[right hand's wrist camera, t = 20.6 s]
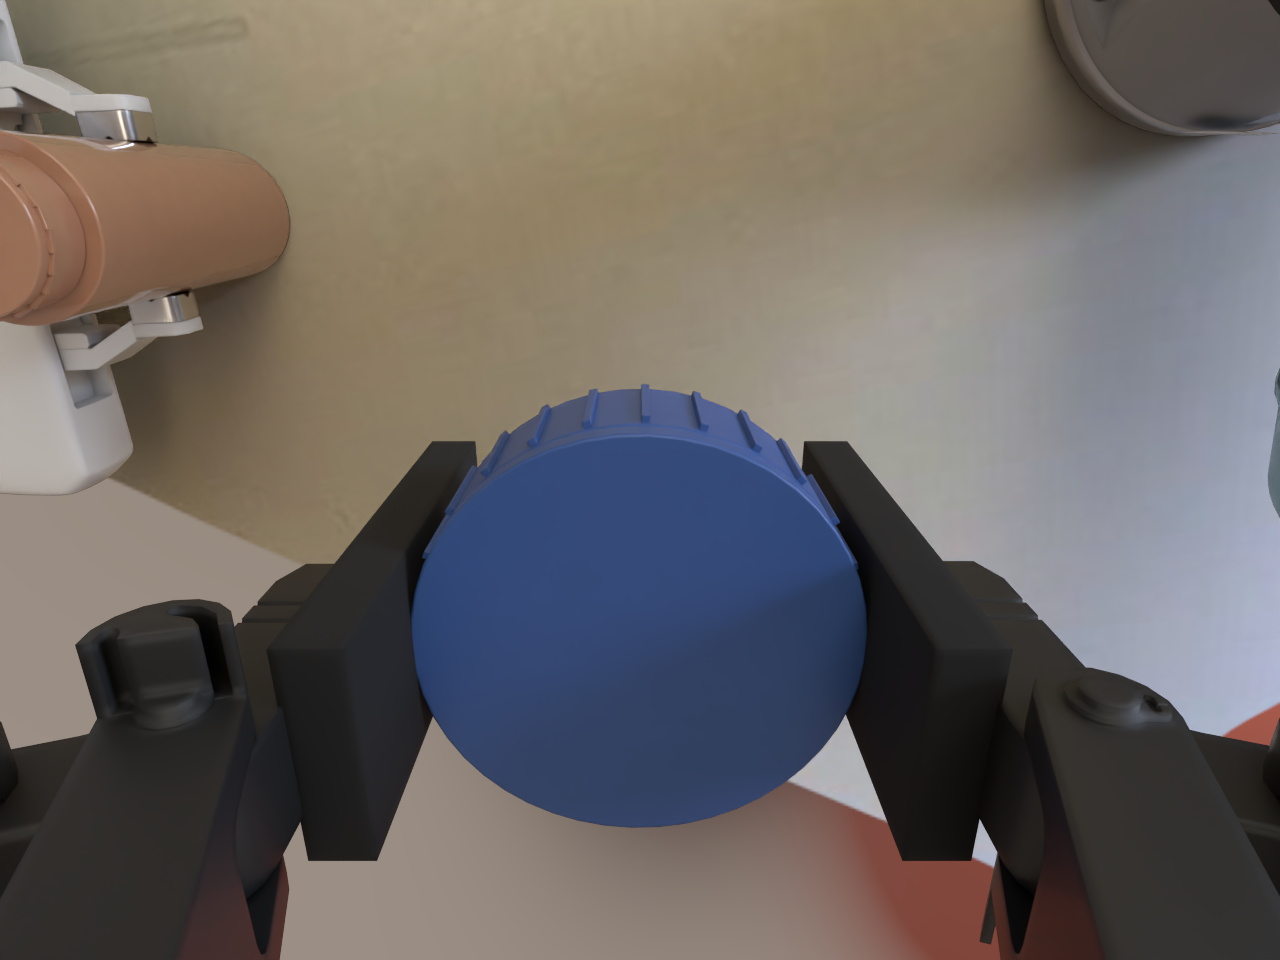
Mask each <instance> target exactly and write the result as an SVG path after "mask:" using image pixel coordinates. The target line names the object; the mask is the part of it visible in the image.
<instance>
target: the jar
mask: <svg viewBox="0 0 1280 960" xmlns="http://www.w3.org/2000/svg"><path fill="white" fill-rule="evenodd" d="M289 228H290V221H289V212H288V208H287V204H286V201H285V198H284V196H283V194H282V192H281V190H280V188H279V186H278V185H277V183H276V182H275V180H274V179H273V178H272V177H271V175H270V174H269V173H268V172H267V171H266V170H265V169H264V168H263V167H262V166H261V165H259V164H258V163H256V162H255V161H254V160H252V159H250V158H249V157H247V156H245V155H243V154H240V153H238V152H234V151H231V150H226V149H218V148H206V147H195V146H184V145H172V144H161V143H146V142H134V141H123V140H115V139H104V138H92V137H81V136H69V135H58V134H46V133H35V132H24V131H12V130H1V129H0V322H1V321H3V322H7V323H11V324H16V325H24V326H42V325H50V324H54V323H58V322H62V321H67V320H71V319H75V318H79V317H83V316H87V315H91V314H95V313H99V312H103V311H107V310H111V309H115V308H120V307H124V306H128V305H132V304H136V303H140V302H144V301H148V300H152V299H156V298H160V297H164V296H168V295H172V294H177V293H180V292H185V291H189V290H193V289H197V288H201V287H205V286H209V285H213V284H217V283H221V282H226V281H230V280H234V279H238V278H242V277H246V276H250V275H254V274H257V273H259V272H262V271H264V270H265V269H267V268H268V267H270V266H271V265H272V264H273V263H275V262H276V260H277V259H278V258H279V257H280V255H281V254H282V252H283V250H284V248H285V246H286V243H287V240H288V236H289Z"/></svg>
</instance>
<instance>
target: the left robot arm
mask: <svg viewBox="0 0 1280 960" xmlns="http://www.w3.org/2000/svg"><path fill="white" fill-rule="evenodd" d="M60 109H61V110H63V111H65V112H67V113H69V114H71V115H73V116H75V117H77V120H78V124H79V127H80V130H81V134H82V137H92V138H104V139H115V140H123V141H134V142H146V143H158V138H157V134H156V129H155V125H154V120H153V116H152V111H151V107H150V103H149V99H148V98H146V97H140V96H135V95H127V94H96V93H94V92H92V91H90V90H88V89H86V88H84V87H83V86H81V85H79V84H77V83H75V82H73V81H71V80H69V79H67V78H65V77H63V76H62V75H60V74H58V73H56V72H54V71H52V70H50V69H45V68H40V67H35V66H30V65H25V64H23V60H22V57H21V53H20V50H19V46H18V43H17V39H16V36H15V32H14V29H13V25H12V22H11V18H10V15H9V11H8V8H7V4H6V1H5V0H0V129H1V130H12V131H24V132H35V133H43V130H42V126H41V123H40V119H39V116H38V113H53V112H59V110H60ZM128 307H129V311H130V315H131V319H132V320H131V321H129V322H128V323H126V324H125V325H124V326H122V327H121V326H119V325H118V324H98V321H97V318H96V314H91V315H87V316H83V317H79V318H75V319H71V320H67V321H62V322H58V323H54V324H50V325H42V326H24V325H16V324H11V323H7V322H3V321H1V322H0V493H3V494H17V495H68V494H73V493H76V492H79V491H82V490H84V489H87V488H89V487H91V486H93V485H95V484H97V483H99V482H101V481H103V480H104V479H106V478H107V477H109V476H111V475H112V474H113V473H115V472H116V471H117V470H118V469H119V468H120V467H121V466H122V465H123V464H124V463H125V462H126V461H127V459H128V458H129V457H130V456H131V455H132V452H133V443H132V439H131V436H130V432H129V429H128V425H127V422H126V419H125V415H124V412H123V408H122V405H121V401H120V398H119V394H118V391H117V387H116V384H115V380H114V377H113V373H112V370H111V366H110V365H111V364H114V363H117V362H120V361H122V360H125V359H128V358H131V357H132V356H133V355H135V354H136V353H137V352H139V351H140V350H141V349H143V348H144V347H145V346H147V345H148V344H149V343H151V342H152V341H153V340H155V339H156V338H157V337H165V336H179V335H185V334H190V333H193V332H196V331H199V330H201V329H203V325H202V321H201V317H200V313H199V309H198V304H197V300H196V296H195V292H194V291H185V292H180V293H177V294H172V295H168V296H164V297H160V298H156V299H152V300H148V301H144V302H140V303H136V304H132V305H128Z"/></svg>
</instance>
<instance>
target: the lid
mask: <svg viewBox="0 0 1280 960" xmlns="http://www.w3.org/2000/svg"><path fill="white" fill-rule="evenodd" d="M445 513H446V515H445V517H444V518H443V520H442V522H441V524H440V525H439V527H438V529H437V530H436V532H435V534H434V536H433V537H432V539H431V541H430V542H429V544H428V546H427V548H426V549H425V551H424V554H423V556H422V558H424V559H426V560H425V562H424V564H423V566H422V570H421V573H420V576H419V579H418V582H417V585H416V589H415V593H414V599H413V606H412V612H411V630H412V639H413V648H414V656H415V664H416V672H417V678H418V681H419V684H420V687H421V690H422V694H423V696H424V698H425V700H426V702H427V704H428V706H429V708H430V711H431V713H432V715H433V717H434V718H435V720H436V721H437V723H438V725H439V726H440V728H441V729H442V731H443V732H444V734H445V735H446V737H447V738H448V739H449V741H450V742H451V743H452V744H453V745H454V746H455V748H456V749H457V750H458V751H459V752H460V753H461V754H462V756H463V757H464V758H465V759H466V760H467V761H468V762H470V763H471V764H472V765H473V766H474V767H475V768H476V769H477V770H478V771H479V772H481V773H482V774H483V775H484V776H485V777H487V778H488V779H490V780H491V781H493V782H494V783H495V784H497V785H498V786H500V787H501V788H502V789H504V790H505V791H507V792H509V793H511V794H513V795H514V796H516V797H518V798H520V799H522V800H524V801H525V802H527V803H529V804H532V805H534V806H537V807H539V808H541V809H544V810H546V811H549V812H551V813H554V814H557V815H561V816H564V817H567V818H571V819H574V820H578V821H583V822H588V823H594V824H599V825H605V826H617V827H630V828H637V827H662V826H671V825H679V824H686V823H690V822H694V821H699V820H703V819H708V818H712V817H715V816H717V815H720V814H723V813H726V812H729V811H732V810H735V809H737V808H740V807H742V806H744V805H746V804H748V803H750V802H752V801H754V800H757V799H759V798H761V797H762V796H764V795H766V794H767V793H769V792H770V791H772V790H774V789H775V788H777V787H778V786H780V785H782V784H783V783H785V782H786V781H787V780H788V779H790V778H791V777H792V776H793V775H795V774H796V773H797V772H799V771H800V770H801V769H802V768H804V767H805V766H806V764H807V763H808V762H809V761H810V760H811V759H812V758H813V757H814V756H815V755H816V754H817V753H818V752H819V751H820V750H821V749H822V748H823V747H824V745H825V744H826V743H827V742H828V740H829V739H830V738H831V736H832V735H833V734H834V732H835V731H836V730H837V728H838V727H839V725H840V723H841V721H842V720H843V718H844V716H845V714H846V713H847V711H848V709H849V707H850V705H851V703H852V700H853V698H854V695H855V693H856V690H857V688H858V685H859V682H860V678H861V674H862V670H863V666H864V658H865V649H866V641H867V612H866V603H865V599H864V594H863V590H862V585H861V581H860V578H859V575H858V573H857V569H859V566H858V563H857V561H856V559H855V557H854V556H853V554H852V552H851V550H850V549H849V547H848V545H847V543H846V542H845V540H844V538H843V536H842V535H841V533H840V531H839V529H838V528H837V526H836V525H837V524H838V523H840V521H839V520H838V518H837V516H836V514H835V513H834V511H833V509H832V508H831V506H830V504H829V503H828V501H827V499H826V498H825V496H824V494H823V493H822V491H821V489H820V487H819V486H818V484H817V482H816V481H815V479H814V477H813V476H812V474H810V475H808V476H807V477H806V476H805V474H804V472H803V471H802V469H801V468H800V467H799V465H798V463H797V462H796V460H795V458H794V456H793V454H792V453H791V451H790V449H789V447H788V446H787V444H786V442H785V441H784V440H783V439H782V438H780V439H779V440H778V441H776V440H775V439H774V438H773V437H772V436H771V435H769V434H768V433H767V432H765V431H764V430H762V429H761V428H760V427H758V426H757V425H756V424H754V423H753V422H751V421H750V419H749V417H748V415H747V413H746V412H745V411H743V410H740V411H739V413H738V414H737V413H735V412H734V411H732V410H730V409H728V408H726V407H724V406H721V405H718V404H716V403H713V402H710V401H708V400H705V399H702V398H701V395H700V393H698V392H695V391H693V392H692V396H690V395H686V394H682V393H678V392H672V391H662V390H653V389H649V385H647V384H642V385H641V389H626V390H614V391H608V392H602V393H598V391H597V389H592V390H590V391H589V395H587V396H584V397H580V398H577V399H573V400H570V401H567V402H564V403H562V404H560V405H558V406H555V407H553V408H551V409H550V407H549V405H548V404H547V405H545V406H543V407H542V408H541V410H540V412H539V415H537V416H535V417H534V418H532V419H530V420H529V421H527V422H526V423H524V424H522V425H521V426H519V427H518V428H517V429H516V430H514V431H513V432H512V433H511V434H509V433H508V432H507V431H504V432H503V433H502V434H501V435H500V437H499V439H498V441H497V442H496V444H495V446H494V448H493V450H492V451H491V453H490V454H489V455H488V456H487V457H486V458H485V459H484V460H483V461H482V463H481V464H480V466H479V467H478V468H477V467H475V466H474V465H473V466H472V467H471V468H470V470H469V472H468V473H467V475H466V477H465V478H464V480H463V482H462V483H461V485H460V487H459V488H458V490H457V492H456V493H455V495H454V497H453V499H452V500H451V502H450V504H449V505H448V507H447V509H446V510H445Z"/></svg>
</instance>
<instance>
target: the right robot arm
mask: <svg viewBox="0 0 1280 960" xmlns="http://www.w3.org/2000/svg"><path fill="white" fill-rule="evenodd" d="M1044 5H1045V10H1046V15H1047V19H1048V23H1049V27H1050V30H1051V33H1052V36H1053V39H1054V42H1055V45H1056V47H1057V49H1058V51H1059V53H1060V56H1061V58H1062V60H1063V62H1064V63H1065V65H1066V67H1067V68H1068V70H1069V72H1070V73H1071V75H1072V76H1073V78H1074V79H1075V80H1076V82H1077V83H1078V84H1079V86H1080V87H1081V88H1082V89H1083V90H1084V91H1085V92H1086V93H1087V95H1088V96H1089V97H1090V98H1091V99H1092V100H1093V101H1094V102H1096V103H1097V104H1098V105H1099V106H1101V107H1102V108H1103V109H1104V110H1106V111H1107V112H1109V113H1110V114H1112V115H1113V116H1115V117H1117V118H1118V119H1120V120H1122V121H1124V122H1126V123H1128V124H1130V125H1133V126H1135V127H1138V128H1141V129H1144V130H1147V131H1150V132H1154V133H1159V134H1165V135H1173V136H1206V135H1218V134H1241V135H1263V134H1276V133H1257V132H1246V131H1252V130H1256V129H1260V128H1264V127H1269V126H1272V125H1275V124H1278V123H1280V0H1044ZM1275 396H1276V398H1277V402H1278V405H1279V406H1278V413H1277V419H1276V425H1275V432H1274V438H1273V445H1272V451H1271V458H1270V464H1269V471H1268V486H1269V493H1270V496H1271V500H1272V503H1273V505H1274V507H1275V509H1276V511H1277V513H1278V515H1279V517H1280V369H1279V371H1278V374H1277V376H1276V381H1275ZM473 465H474V466H475V467H477V457H476V444H475V441H432V443H431V444H430V445H429V446H428V448H427V449H426V450H425V451H424V453H423V454H422V455H421V456H420V458H419V459H418V460H417V461H416V463H415V464H414V465H413V466H412V468H411V469H410V470H409V471H408V473H407V474H406V475H405V476H404V478H403V479H402V480H401V481H400V483H399V484H398V485H397V486H396V488H395V489H394V490H393V491H392V493H391V494H390V495H389V496H388V498H387V499H386V500H385V501H384V503H383V504H382V505H381V506H380V508H379V509H378V510H377V511H376V513H375V514H374V515H373V516H372V518H371V519H370V520H369V521H368V523H367V524H366V525H365V526H364V528H363V529H362V530H361V531H360V533H359V534H358V535H357V536H356V538H355V539H354V540H353V541H352V543H351V544H350V545H349V546H348V548H347V549H346V550H345V551H344V553H343V554H342V555H341V556H340V558H339V559H338V560H337V561H336V563H335V564H305V565H304V566H302V567H300V568H299V569H297V570H295V571H293V572H292V573H290V574H288V575H286V576H285V577H283V578H281V579H279V580H278V581H276V582H275V583H274V584H273V585H272V586H271V588H270V589H269V590H268V591H267V592H266V593H265V594H264V595H263V596H262V597H261V598H260V600H259V601H258V605H257V606H253V607H252V609H250V611H249V612H248V613H247V614H246V615H245V616H244V617H243V618H242V623H238V624H237V625H236V626H235V627H234V623H233V619H232V614H231V611H230V610H229V609H227V608H226V607H224V606H223V605H222V604H220V603H217V602H212V601H206V600H200V599H193V600H172V601H168V602H163V603H158V604H153V605H148V606H143V607H140V608H138V609H135V610H132V611H129V612H127V613H124V614H121V615H118V616H116V617H113V618H112V619H110V620H108V621H106V622H104V623H103V624H101V625H99V626H97V627H95V628H94V629H92V630H90V631H89V632H88V633H87V634H86V635H85V636H84V637H83V638H82V639H81V640H80V641H79V642H78V643H77V644H76V645H75V646H76V649H77V653H78V656H79V659H80V663H81V666H82V669H83V673H84V676H85V679H86V682H87V686H88V689H89V693H90V696H91V699H92V703H93V706H94V709H95V713H96V716H97V720H96V722H95V724H94V726H93V728H92V729H91V731H90V733H89V734H86V735H82V736H78V737H73V738H68V739H62V740H57V741H52V742H47V743H42V744H37V745H32V746H26V747H21V748H16V749H11V748H10V745H9V743H8V740H7V737H6V734H5V731H4V728H3V726H2V723H1V722H0V960H280V952H281V945H282V938H283V930H284V923H285V916H286V909H287V901H288V894H289V885H288V878H287V871H286V867H285V862H284V857H283V853H284V851H285V850H286V848H287V846H288V844H289V842H290V840H291V838H292V836H293V835H294V833H295V831H296V829H297V827H298V825H299V823H300V821H301V826H302V831H303V836H304V841H305V846H306V851H307V856H308V861H377V859H378V857H379V854H380V852H381V849H382V846H383V844H384V841H385V839H386V836H387V833H388V831H389V828H390V826H391V823H392V820H393V818H394V815H395V813H396V810H397V808H398V805H399V802H400V800H401V797H402V795H403V792H404V790H405V787H406V784H407V782H408V779H409V777H410V774H411V772H412V769H413V766H414V764H415V761H416V758H417V756H418V753H419V751H420V748H421V746H422V743H423V741H424V738H425V735H426V733H427V730H428V728H429V725H430V722H431V720H432V717H433V715H432V713H431V711H430V708H429V706H428V704H427V702H426V700H425V698H424V696H423V694H422V690H421V687H420V684H419V681H418V678H417V672H416V664H415V656H414V648H413V639H412V630H411V612H412V606H413V599H414V593H415V589H416V585H417V582H418V579H419V576H420V573H421V570H422V566H423V564H424V562H425V560H426V559H424V558H422V556H423V554H424V551H425V549H426V548H427V546H428V544H429V542H430V541H431V539H432V537H433V536H434V534H435V532H436V530H437V529H438V527H439V525H440V524H441V522H442V520H443V518H444V517H445V515H446V513H445V510H446V509H447V507H448V505H449V504H450V502H451V500H452V499H453V497H454V495H455V493H456V492H457V490H458V488H459V487H460V485H461V483H462V482H463V480H464V478H465V477H466V475H467V473H468V472H469V470H470V468H471V467H472V466H473ZM802 471H803V472H804V474H805V476H806V477H807V476H808V475H810V474H812V476H813V477H814V479H815V481H816V482H817V484H818V486H819V487H820V489H821V491H822V493H823V494H824V496H825V498H826V499H827V501H828V503H829V504H830V506H831V508H832V509H833V511H834V513H835V514H836V516H837V518H838V520H839V521H840V523H838V524H837V525H836V526H837V528H838V529H839V531H840V533H841V535H842V536H843V538H844V540H845V542H846V543H847V545H848V547H849V549H850V550H851V552H852V554H853V556H854V557H855V559H856V561H857V563H858V566H859V569H857V573H858V575H859V578H860V581H861V585H862V590H863V594H864V599H865V603H866V612H867V641H866V649H865V658H864V666H863V670H862V674H861V678H860V682H859V685H858V688H857V690H856V693H855V695H854V698H853V700H852V703H851V705H850V707H849V709H848V711H847V713H846V716H847V719H848V721H849V724H850V726H851V729H852V731H853V734H854V737H855V739H856V742H857V744H858V747H859V750H860V752H861V755H862V757H863V760H864V762H865V765H866V768H867V770H868V773H869V775H870V778H871V781H872V783H873V786H874V788H875V791H876V794H877V796H878V799H879V801H880V804H881V806H882V809H883V812H884V814H885V817H886V819H887V822H888V825H889V827H890V830H891V832H892V835H893V837H894V840H895V843H896V845H897V848H898V850H899V853H900V856H901V858H902V860H903V861H971V859H972V854H973V849H974V844H975V839H976V834H977V829H978V824H979V819H980V820H981V822H982V824H983V826H984V828H985V830H986V831H987V833H988V835H989V837H990V839H991V841H992V843H993V845H994V846H995V848H996V850H997V857H996V862H995V867H994V871H993V876H992V881H991V885H990V890H989V895H988V899H987V904H986V909H985V913H984V918H983V923H982V929H981V936H980V942H983V943H987V944H991V942H992V937H993V933H994V928H995V927H996V928H997V936H998V943H999V950H1000V958H1001V960H1280V718H1279V721H1278V724H1277V726H1276V729H1275V732H1274V735H1273V738H1272V741H1271V743H1270V746H1268V745H1262V744H1257V743H1252V742H1247V741H1242V740H1236V739H1231V738H1226V737H1221V736H1216V735H1211V734H1205V733H1200V732H1196V731H1192V730H1189V728H1188V726H1187V724H1186V722H1185V720H1184V719H1183V717H1182V716H1181V715H1180V714H1179V712H1178V711H1177V710H1176V709H1175V708H1174V707H1173V705H1172V704H1171V703H1170V702H1169V701H1168V700H1166V699H1165V698H1163V697H1162V696H1160V695H1159V694H1157V693H1156V692H1154V691H1153V690H1151V689H1150V688H1148V687H1147V686H1145V685H1142V684H1140V683H1138V682H1135V681H1133V680H1131V679H1128V678H1126V677H1123V676H1121V675H1118V674H1114V673H1110V672H1106V671H1102V670H1098V669H1094V668H1085V666H1084V665H1083V664H1082V663H1081V662H1080V661H1079V660H1078V659H1077V658H1076V657H1075V656H1074V654H1073V653H1072V652H1071V651H1070V650H1069V649H1068V648H1067V647H1066V646H1065V645H1064V644H1063V643H1062V641H1061V640H1060V639H1059V638H1058V637H1057V636H1056V635H1055V634H1054V633H1053V632H1052V631H1051V629H1050V628H1049V627H1048V626H1047V625H1046V624H1045V623H1044V622H1043V621H1042V620H1038V615H1037V614H1036V613H1035V612H1034V611H1033V610H1032V609H1031V608H1030V607H1029V605H1028V604H1027V603H1023V602H1022V598H1021V597H1020V596H1019V595H1018V593H1017V592H1016V591H1015V590H1014V589H1013V588H1012V587H1011V586H1010V585H1009V584H1008V583H1007V582H1006V580H1005V579H1004V578H1002V577H1000V576H998V575H997V574H995V573H993V572H991V571H990V570H988V569H986V568H984V567H983V566H981V565H979V564H977V563H976V562H974V561H942V559H941V558H940V557H939V556H938V554H937V553H936V552H935V551H934V549H933V548H932V547H931V546H930V544H929V543H928V542H927V541H926V539H925V538H924V537H923V536H922V534H921V533H920V532H919V531H918V529H917V528H916V527H915V526H914V524H913V523H912V522H911V521H910V519H909V518H908V517H907V516H906V514H905V513H904V512H903V511H902V509H901V508H900V507H899V506H898V504H897V503H896V502H895V501H894V499H893V498H892V497H891V496H890V494H889V493H888V492H887V491H886V489H885V488H884V487H883V486H882V484H881V483H880V482H879V481H878V479H877V478H876V477H875V476H874V474H873V473H872V472H871V471H870V469H869V468H868V467H867V466H866V464H865V463H864V462H863V461H862V459H861V458H860V457H859V456H858V454H857V453H856V452H855V451H854V449H853V448H852V447H851V446H850V444H849V443H848V442H847V441H804V451H803V463H802Z"/></svg>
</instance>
